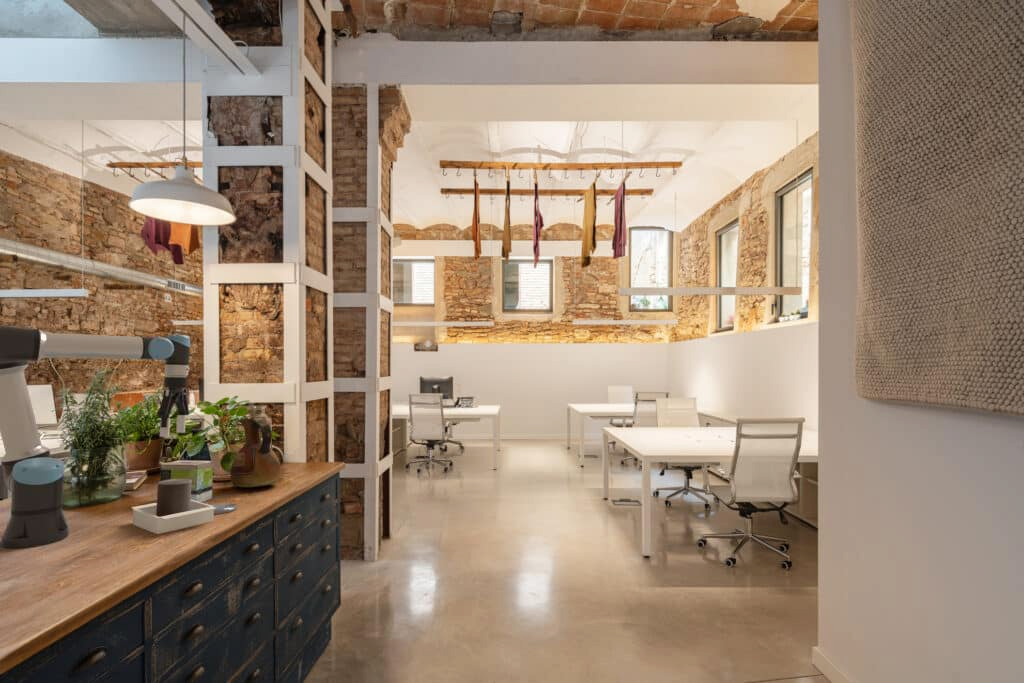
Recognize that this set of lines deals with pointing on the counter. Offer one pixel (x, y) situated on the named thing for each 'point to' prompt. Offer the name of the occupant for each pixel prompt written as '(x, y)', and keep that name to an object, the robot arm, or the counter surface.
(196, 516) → the white rectangular tray
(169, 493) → the pillar candle
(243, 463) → the ceramic pitcher
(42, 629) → the counter surface
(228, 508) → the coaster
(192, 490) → the tea box
